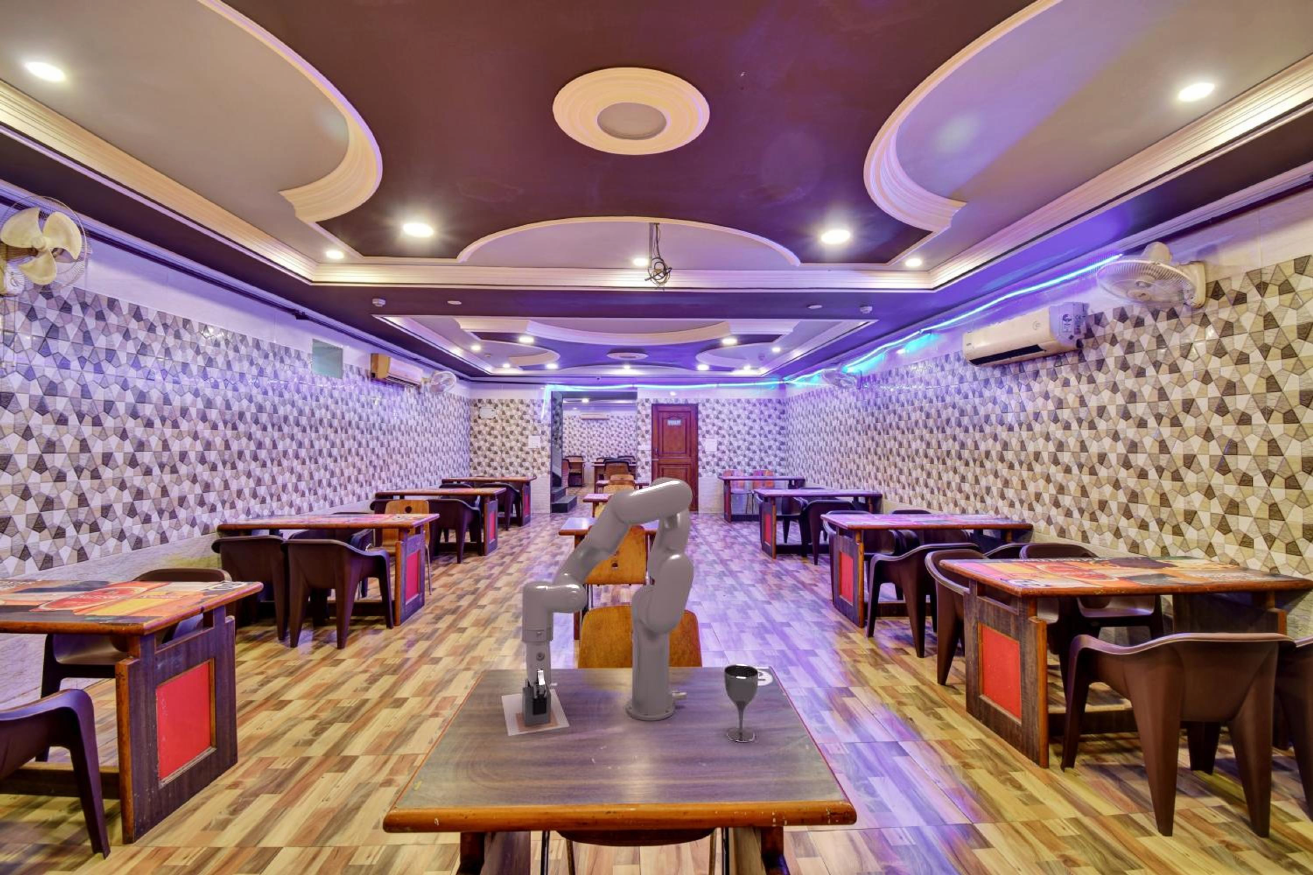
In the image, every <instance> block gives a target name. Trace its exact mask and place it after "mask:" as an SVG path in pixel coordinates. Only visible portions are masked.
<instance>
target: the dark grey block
mask: <svg viewBox="0 0 1313 875" xmlns="http://www.w3.org/2000/svg"><path fill="white" fill-rule="evenodd" d="M537 689H539V687H537V688H536V691H537ZM549 689H550V688H549V685H548V684H546V695H547V712H546V714H540V715H533V713H532V712H533V697H534V689H533V687H532V686H531V687H525V686H523V687H522V691H521V693H522V717H523V721H524V725H525V727H529V726H536V725H542V724H548V723H551V693H550V690H549Z"/></svg>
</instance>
